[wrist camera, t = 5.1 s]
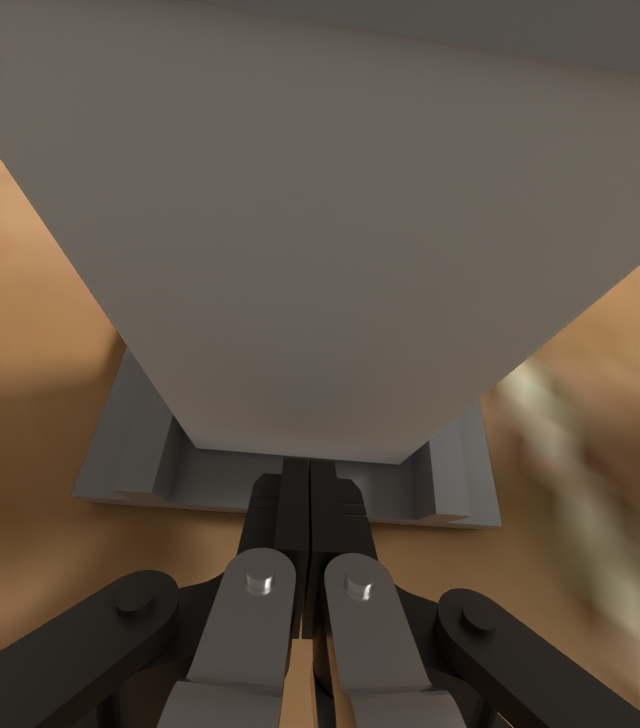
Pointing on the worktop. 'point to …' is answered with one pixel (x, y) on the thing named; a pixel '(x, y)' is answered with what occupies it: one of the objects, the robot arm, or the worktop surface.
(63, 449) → the worktop surface
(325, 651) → the robot arm
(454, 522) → the track
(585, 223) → the grey tall block
